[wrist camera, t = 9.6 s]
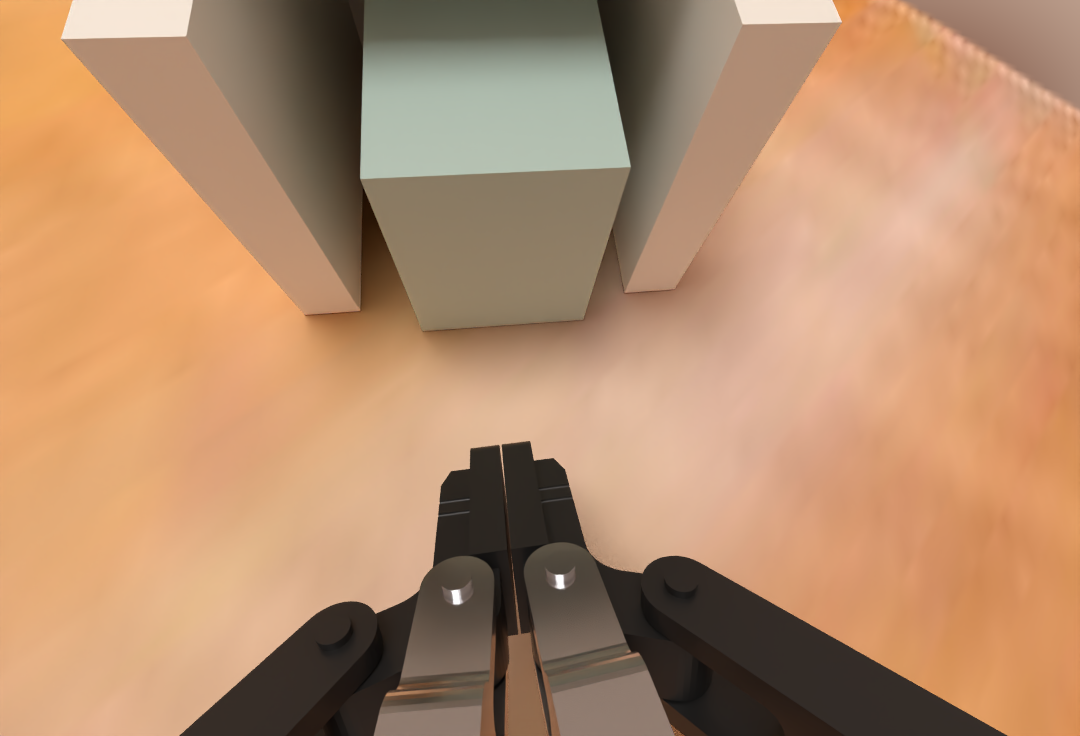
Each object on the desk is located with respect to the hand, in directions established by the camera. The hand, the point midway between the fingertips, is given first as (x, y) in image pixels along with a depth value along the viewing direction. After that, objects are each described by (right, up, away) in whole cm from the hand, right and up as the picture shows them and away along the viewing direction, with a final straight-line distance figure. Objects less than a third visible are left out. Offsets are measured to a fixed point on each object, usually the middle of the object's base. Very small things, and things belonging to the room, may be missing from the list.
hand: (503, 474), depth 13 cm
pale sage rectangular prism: (-1, +10, +8) cm, 13 cm away
